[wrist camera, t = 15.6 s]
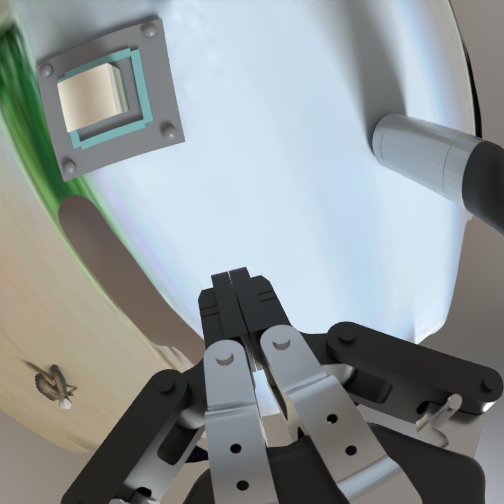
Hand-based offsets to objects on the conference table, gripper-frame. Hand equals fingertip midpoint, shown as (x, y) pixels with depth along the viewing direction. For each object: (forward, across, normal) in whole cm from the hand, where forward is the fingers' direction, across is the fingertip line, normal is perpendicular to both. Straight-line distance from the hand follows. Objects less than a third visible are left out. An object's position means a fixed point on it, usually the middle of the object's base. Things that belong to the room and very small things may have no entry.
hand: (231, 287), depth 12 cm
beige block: (+24, +9, -11) cm, 28 cm away
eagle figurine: (+22, +42, +39) cm, 62 cm away
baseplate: (+25, +9, -11) cm, 29 cm away
